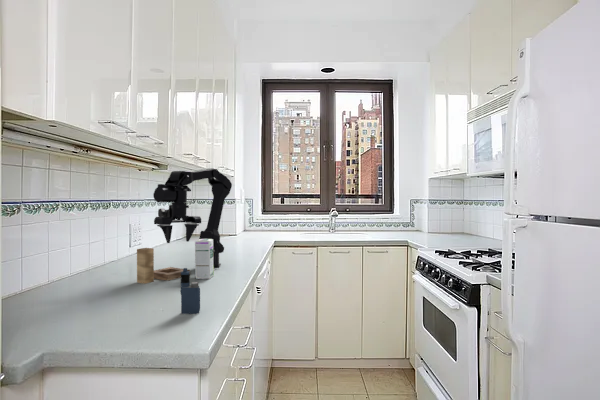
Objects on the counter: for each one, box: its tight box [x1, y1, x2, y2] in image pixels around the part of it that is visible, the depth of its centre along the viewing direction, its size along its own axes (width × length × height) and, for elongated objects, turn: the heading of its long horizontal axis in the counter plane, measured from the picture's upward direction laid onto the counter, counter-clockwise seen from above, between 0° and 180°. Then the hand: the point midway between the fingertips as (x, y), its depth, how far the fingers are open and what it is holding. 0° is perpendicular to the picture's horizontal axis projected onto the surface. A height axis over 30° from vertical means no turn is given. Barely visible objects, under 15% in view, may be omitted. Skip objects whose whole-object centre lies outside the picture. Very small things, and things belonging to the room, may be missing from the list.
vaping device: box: [179, 267, 201, 315], centre depth 108 cm, size 3×5×12 cm, turn 88°
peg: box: [136, 247, 155, 285], centre depth 144 cm, size 4×4×12 cm
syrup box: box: [194, 238, 215, 280], centre depth 152 cm, size 6×6×14 cm
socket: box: [154, 266, 191, 281], centre depth 154 cm, size 11×11×2 cm
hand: (178, 242), depth 157 cm, fingers open, 9 cm apart
